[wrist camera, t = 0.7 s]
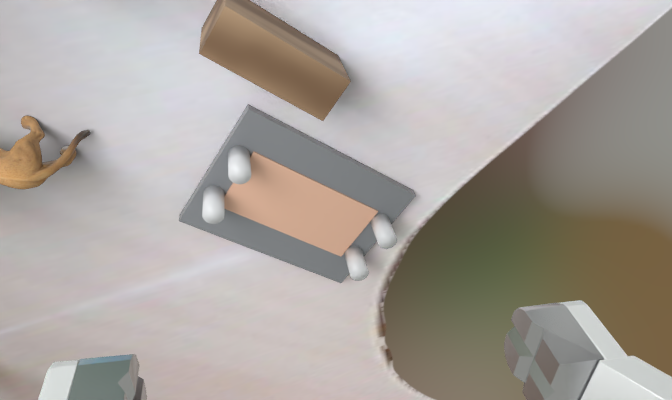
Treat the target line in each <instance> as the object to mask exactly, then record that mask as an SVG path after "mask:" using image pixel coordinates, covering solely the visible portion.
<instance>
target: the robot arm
mask: <svg viewBox="0 0 672 400" xmlns="http://www.w3.org/2000/svg"><path fill="white" fill-rule="evenodd" d="M511 320H512V322H513V324H514V327H513V328H512V329H511V330H510V331H509V332H508V333H507V335H506V339H505V343H504V348H505V357H506V360H507V363H508V366H509V368H510V370H511V371H512V373H513V375H514V376H516V377H517V378H519V379H520V380H521V381H523V382H524V387H523V394H524V396H525V397H526V399H527V400H672V377H670V376H669V375H667V374H665V373H663V372H662V371H660V370H658V369H656V368H655V367H653V366H651V365H649V364H647V363H646V362H644V361H642V360H641V359H639V358H637V357H635V356H627V355H626V353H625V352H624V351H623V350H622V348H621V347H620V346H619V345H618V343H617V342H616V341H615V340H614V338H613V337H612V336H611V334H610V333H609V332H608V331H607V329H606V328H605V327H604V326H603V324H602V323H601V322H600V320H599V319H598V318H597V317H596V315H595V314H594V313H593V312H592V310H591V309H590V308H589V306H588V305H587V304H586V303H584V302H583V301H581V300H579V301H570V302H562V303H551V304H544V305H536V306H528V307H522V308H517V309H516V310H515V311H514V313H513V316H512V319H511ZM138 372H139V362H138V359H137V356H136V354H130V355H120V356H109V357H98V358H88V359H79V360H70V361H60V362H53V364H52V365H51V366H50V368H49V369H48V371H47V374H46V377H45V380H44V383H43V387H42V390H41V393H40V396H39V399H38V400H147V395H146V387H145V383H144V379H142V378H140V377H139V376H138Z"/></svg>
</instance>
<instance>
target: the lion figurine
mask: <svg viewBox="0 0 672 400" xmlns="http://www.w3.org/2000/svg"><path fill="white" fill-rule="evenodd" d="M21 124H22V127H23V128H25V129H29V130H31V132H30V133H29V134H28V135H26V136H25V137H23V138H21V139H20V140H18V141H17V142H16V143H15V145H14V146H13V148H12V149H11V150H10V151H5V150H3V149H1V148H0V184H2V185H5V186H8V187H12V188H17V189H29V188H34V187H37V186H39V185H41V184H42V183H43V182H44V181H45V180H46V179H47V178H48V177H49V176H51V175H52V174H54V173H55V172H56V171H58V170H59V169H60V168H62V167H65V166H68V165H70V164H71V163H72V161H73V160H74V158H75V157H76V150H75V148H76V146H77V145H78V143H79V142H80V141H81V140H82V139H84V138H86V137H87V136H88V135H89V134H90V131H89V130H86V131H81V132H80V133H79V134H77V135H76V137H75V138H74V139H73V141H72V142H71V144H70V145H69V146H64V147H62V149H61V151H60V154H61V157H60V158H59V159H57V160H53V161H49V162H44V163H42V155H41V150H40V145H39V142H40V140H41V139H42V138H44V136H45V134H44V132H43V131H42V129H41V127H40V126H39V123H38V122H37V120H36V119H34V118H33V117H31V116H24V117H23V118H22V119H21Z"/></svg>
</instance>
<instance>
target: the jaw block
mask: <svg viewBox="0 0 672 400" xmlns="http://www.w3.org/2000/svg"><path fill="white" fill-rule="evenodd" d="M199 54H201V55H203V56H204V57H206V58H208V59H210V60H212V61H214V62H215V63H217V64H219V65H221V66H223V67H225V68H226V69H228V70H230V71H232V72H234V73H236V74H237V75H239V76H241V77H243V78H245V79H247V80H248V81H250V82H252V83H254V84H256V85H258V86H259V87H261V88H263V89H265V90H267V91H269V92H270V93H272V94H274V95H276V96H278V97H280V98H281V99H283V100H285V101H287V102H289V103H291V104H292V105H294V106H296V107H298V108H300V109H302V110H303V111H305V112H307V113H309V114H311V115H313V116H314V117H316V118H318V119H320V120H322V121H323V120H324V119H325V117H326V116H327V115H328V113H329V112H330V110H331V109H332V107H333V106H334V105H335V103H336V102H337V100H338V99H339V97H340V96H341V95H342V93H343V92H344V90H345V89H346V88H347V86H348V85H349V83H350V82H351V81H350V79H349V77H348V75H347V73H346V71H345V69H344V67H343V65H342V63H341V61H340V59H339V57H338V55H337V54H335V53H333V52H332V51H330V50H329V49H327V48H325V47H324V46H322V45H321V44H319V43H317V42H316V41H314V40H312V39H311V38H309V37H308V36H306V35H304V34H303V33H301V32H300V31H298V30H296V29H295V28H293V27H292V26H290V25H288V24H287V23H285V22H284V21H282V20H280V19H279V18H277V17H276V16H274V15H272V14H271V13H269V12H268V11H266V10H264V9H263V8H261V7H259V6H258V5H256V4H255V3H253V2H251V1H250V0H217V1H216V3H215V5H214V7H213V8H212V10H211V12H210V14H209V16H208V18H207V20H206V21H205V23H204V25H203V27H202V31H201V41H200V50H199Z"/></svg>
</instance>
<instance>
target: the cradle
mask: <svg viewBox="0 0 672 400" xmlns="http://www.w3.org/2000/svg"><path fill="white" fill-rule="evenodd" d="M415 196H416V195H415V193H414V191H413V190H412V189H410V188H408V187H406V186H404V185H402V184H400V183H398V182H396V181H394V180H392V179H390V178H389V177H387V176H385V175H383V174H381V173H379V172H377V171H375V170H373V169H371V168H369V167H367V166H365V165H364V164H362V163H360V162H358V161H356V160H354V159H352V158H350V157H348V156H346V155H344V154H342V153H340V152H339V151H337V150H335V149H333V148H331V147H329V146H327V145H325V144H323V143H321V142H319V141H317V140H316V139H314V138H312V137H310V136H308V135H306V134H304V133H302V132H300V131H298V130H296V129H294V128H292V127H291V126H289V125H287V124H285V123H283V122H281V121H279V120H277V119H275V118H273V117H271V116H269V115H267V114H266V113H264V112H262V111H260V110H258V109H256V108H254V107H252V106H250V105H247V107H246V109H245V110H244V112H243V113H242V115H241V117H240V118H239V120H238V121H237V123H236V125H235V126H234V128H233V130H232V131H231V133H230V134H229V136H228V138H227V139H226V141H225V143H224V144H223V146H222V147H221V149H220V151H219V152H218V154H217V155H216V157H215V159H214V160H213V162H212V164H211V165H210V167H209V168H208V170H207V172H206V173H205V175H204V177H203V178H202V180H201V181H200V183H199V185H198V186H197V188H196V189H195V191H194V193H193V194H192V196H191V198H190V199H189V201H188V202H187V204H186V206H185V207H184V209H183V211H182V212H181V214H180V217H179V221H180V222H183V223H186V224H188V225H191V226H193V227H196V228H199V229H201V230H204V231H206V232H209V233H212V234H214V235H217V236H219V237H222V238H225V239H227V240H230V241H232V242H235V243H238V244H240V245H243V246H246V247H248V248H251V249H253V250H256V251H259V252H261V253H264V254H266V255H269V256H272V257H274V258H277V259H279V260H282V261H285V262H287V263H290V264H292V265H295V266H298V267H300V268H303V269H305V270H308V271H311V272H313V273H316V274H318V275H321V276H324V277H326V278H329V279H332V280H334V281H337V282H339V283H342V282H343V280H344V279H345V278H346V277H347V276H348V275H349V273H350V276H351V278H352V279H353V280H355V281H360V280H363V279H365V278H366V277H367V276H368V274H369V271H368V268H367V265H366V262H365V259H364V256H365V255H366V253H367V252H368V251H369V250H370V249H371V248H372V246H373V245H374V244H375V243H376V242H378V245H379V246H380V247H381V248H384V249H388V248H391V247H393V246H394V245H395V244H396V242H397V237H396V235H395V232H394V230H393V227H392V225H391V224H392V223H393V222H394V221H395V219H396V218H397V217H398V216H399V215H400V214H401V212H402V211H403V210H404V209H405V208H406V206H407V205H408V204H409V203H410V202H411V201H412V199H413V198H414V197H415Z"/></svg>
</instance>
